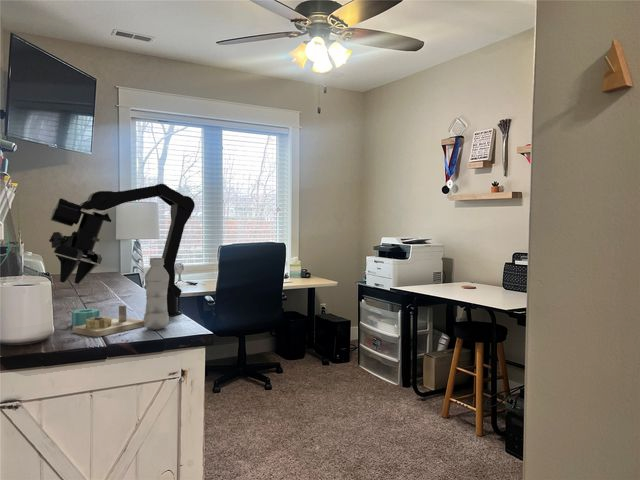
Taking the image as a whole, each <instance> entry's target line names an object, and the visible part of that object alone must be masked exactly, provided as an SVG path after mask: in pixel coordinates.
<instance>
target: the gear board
mask: <svg viewBox="0 0 640 480" xmlns="http://www.w3.org/2000/svg"><path fill="white" fill-rule="evenodd" d="M143 327H145V326H144V319H140V318H132V317H127V305H126V304H121V305H118V317H117V318H112V317H110V316H100V317H93V318H89V319H86V324H85V325H80V326H75V327H73V326H72V333H74V334H78V335H79V334H80V335H83V336H88V337H94V338H99V337H103V336H107V335H108V336H109V335H112V334H116V333H120V332H126V331H129V330H134V329H139V328H143Z"/></svg>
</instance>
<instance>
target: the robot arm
mask: <svg viewBox="0 0 640 480" xmlns="http://www.w3.org/2000/svg"><path fill="white" fill-rule="evenodd" d="M157 197H158V198H159V199H161V200H162V202H164V203H166V205H168V206H170V210H169V211H170V212H169V213H170V226H169V228H168V229H169V230H168V233H167V236H166V241H165V243H164V244H165V245H164V247H163V252H162V256H161V258H164V265H163V267H164V268H165V270H166V271H167V272H168V274H169V283H168V289H167V312H168V316H169V317H173V316H177V315H178V316H179V315H182V314H183V313H184V312H183V311H180V297H181V294H182V289H181V288H180V287H178V286H177V285H176V284H175V281H176V272H175V270H176V269H175V265H176V259H177V257H178V253H179V248H180V245H181V240H182V237H183V233H184V229H185V225H186V224H187V222H188V221H189V219H190V218H191V216H192V214H193V211H194V209H195V207H196V206H195V205H196V204H195V201H194V199H193V198H192V197H190V196H189V195H183V194H182V193H180V192H179V191H176V190H175V189H173V188H171V187H170V186H168V185H167V184H165V183H158V184H155V185H150V186H144V187H138V188H133V189H126V190H122V191H121V190H101V191H100V190H99V191H95V192H92V193H91V194H89V195H88V197H87V200H86V201H83V202H81V203H80V204H77V203H74V202H71V201H68V200H67V199H64V198H62V197H61V198H58V201H57V203H56V205H55V208H53V209H52V213H51V216H50V221H52V222H56V223H58V224H62V225H64V226H68V227H73V225H74V224H75V225H78V224H79V225H78V227H77V231H75V230H74V231H73V232H72V233H71V235H63V233H62V232H59V231H55V232H52V235H50V239H49V240H48V242H49V243H51V249H54V251H53V253H55V257H56V258H57V259H58V260H59V262H60V272H59V273H60V276H59V277H60V278H59V282H60V283H65V282H66V281H68V279H69V278H70V276H71V275H72V274H73V272H74V271H75V269H76V274H75V278H74V284H76V285H79V284H80V283H81V282H82V281H83V280H84V279H85V278H86V277H87V276H88V275H89V274H90V273H91V272H92V271H93V270H95V268H96V267H98V266H99V265H101V263H102V260H103V257H102V255H101V254H99V253H96V252H95V251H94V248H95V245H96V242H97V243H99V242H100V241H101V240H100V238H98V237H99V234H100V232H101V229H102V227H103V224H104V222H106V223H111V222H112V219H111V218H110V215H109V213H108V212H105V213H104V214H102V213H99V212H101V211H103V212H104V211H106V210H109V209H112V208H115V207H117V206H120V205H123V204H125V203H130V202H131V203H132V202H134V201H135V202H136V201H140V200H141V201H142V200H146V199H151V198H157ZM91 210H93V212H92V213H89V212H86V211H91ZM79 222H80V223H79Z"/></svg>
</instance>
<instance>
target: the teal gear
mask: <svg viewBox="0 0 640 480" xmlns="http://www.w3.org/2000/svg"><path fill="white" fill-rule="evenodd" d="M93 317H101V310H100V309H99V308H83V309H76V310H72V311H71V326H72V328H73V327H75V326H80V325H85V324H86V319H89V318H93Z"/></svg>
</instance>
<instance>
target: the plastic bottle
mask: <svg viewBox="0 0 640 480" xmlns="http://www.w3.org/2000/svg"><path fill="white" fill-rule="evenodd" d="M163 265H164V258H162V257H151V258H149V266H150V267H149V268H148V270H147V271H146V272H145V275H144V285H145V296H146V300H145V301H146V302H145V312H144V315H143V316H144V317H143V320H144V326H143V327H145V328H146V329H148V330H153V331H156V330H157V331H158V330H162V329H165V328H166V327H168V325H169V320H170V318H169V317H170V316H168V312H167V289H168V283H169V274H168V272H167V271H166V270H165V268H164V267H163Z"/></svg>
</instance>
